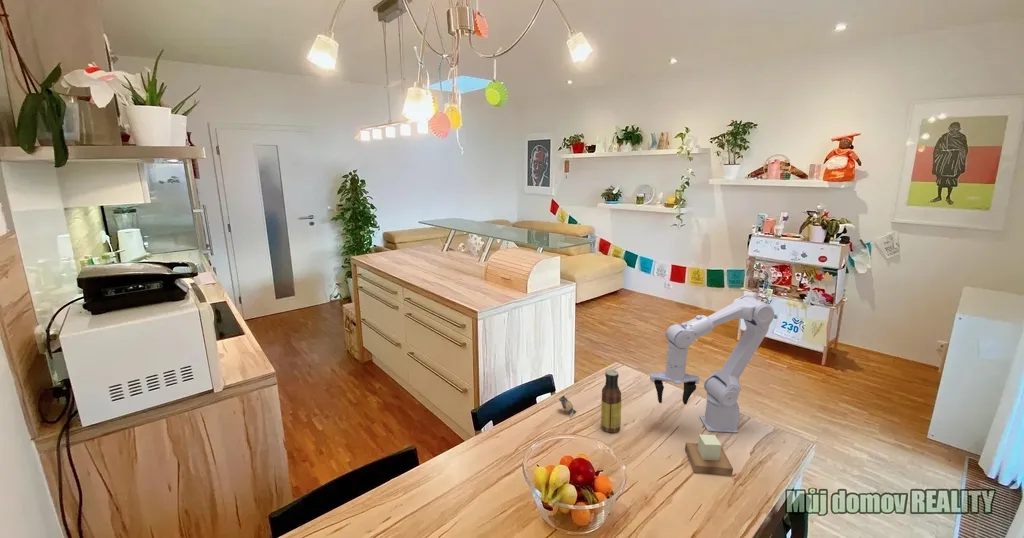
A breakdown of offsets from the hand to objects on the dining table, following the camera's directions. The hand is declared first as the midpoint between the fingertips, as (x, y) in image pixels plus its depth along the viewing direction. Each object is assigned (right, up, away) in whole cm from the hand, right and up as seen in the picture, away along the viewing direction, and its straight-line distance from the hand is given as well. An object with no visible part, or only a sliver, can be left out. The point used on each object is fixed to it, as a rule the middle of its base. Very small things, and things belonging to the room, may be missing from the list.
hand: (672, 402), depth 136 cm
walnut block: (+6, -14, -12) cm, 20 cm away
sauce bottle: (-19, -10, +3) cm, 22 cm away
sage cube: (+5, -11, -13) cm, 18 cm away
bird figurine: (-32, -8, +12) cm, 35 cm away
